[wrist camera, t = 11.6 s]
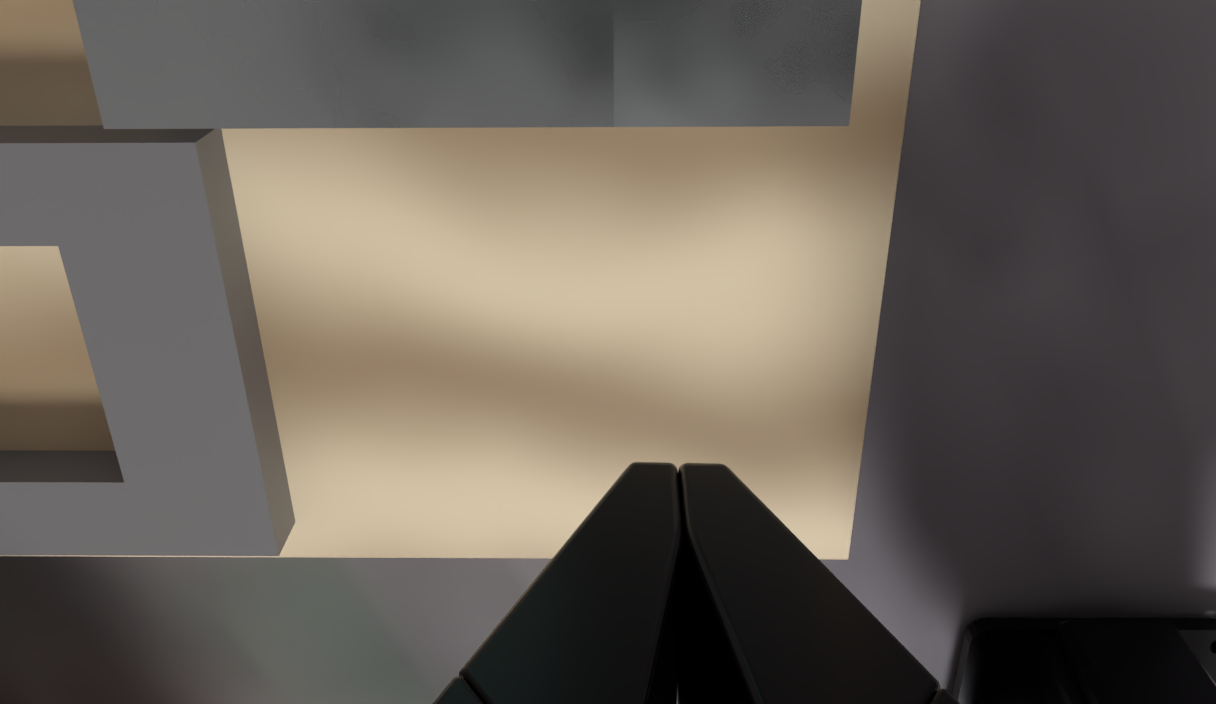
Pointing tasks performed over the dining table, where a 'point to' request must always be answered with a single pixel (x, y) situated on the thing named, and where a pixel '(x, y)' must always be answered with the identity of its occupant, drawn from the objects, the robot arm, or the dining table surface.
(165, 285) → the gray square frame
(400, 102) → the port block
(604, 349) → the patch board
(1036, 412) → the dining table surface
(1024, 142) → the dining table surface
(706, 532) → the robot arm
